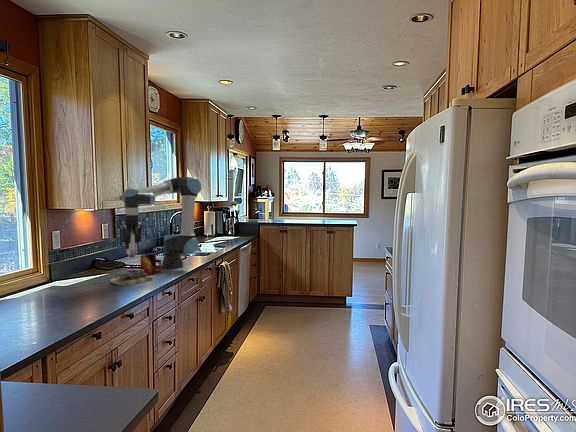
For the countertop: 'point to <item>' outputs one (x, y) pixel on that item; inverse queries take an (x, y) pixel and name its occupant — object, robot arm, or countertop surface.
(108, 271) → the countertop surface
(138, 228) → the robot arm
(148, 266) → the mug
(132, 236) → the steel pin
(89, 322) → the countertop surface
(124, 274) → the chain ends
